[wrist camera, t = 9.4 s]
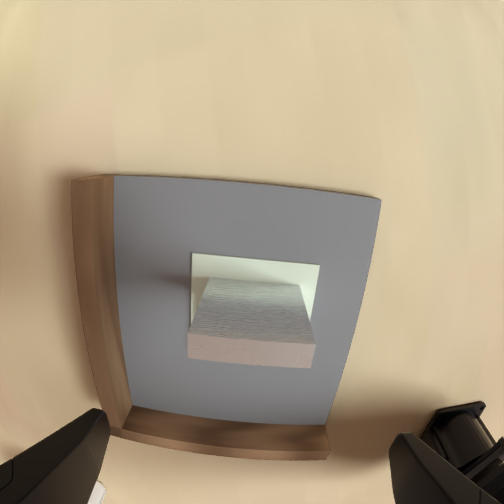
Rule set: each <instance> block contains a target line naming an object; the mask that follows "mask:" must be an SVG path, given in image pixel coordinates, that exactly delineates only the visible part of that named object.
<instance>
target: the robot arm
mask: <svg viewBox="0 0 504 504" xmlns="http://www.w3.org/2000/svg"><path fill="white" fill-rule="evenodd" d="M485 407H486V405H485V403H484V402H480V403H475V404H470V405H465V406H460V407H454V408H448V409H442V410H439V411H437V412H436V413H435V415H434V417H433V418H432V420H431V422H430V424H429V425H428V427H427V429H426V430H425V432H424V434H423V435H422V437H421V438H420V439H419V438H418V437H417V436H416V435H414V434H413V433H412V432H403V433H399V434H398V435H397V437H396V438H395V440H394V442H393V444H392V445H391V447H390V449H389V461H390V469H391V478H392V487H393V494H394V499H395V503H396V504H504V462H503V461H504V437H503V436H502V437H501V438H500V439H499V440H498V442H497V443H496V442H495V440H494V439H493V437H492V436H491V434H490V432H489V431H488V429H487V428H486V426H485V425H484V423H483V422H482V420H481V419H480V415H481V413H482V412H483V410H484V408H485ZM110 433H111V428H110V424H109V421H108V417H107V414H106V412H105V411H103V410H100V409H96V408H92V409H90V410H89V411H87V412H86V413H84V414H83V415H81V416H79V417H78V418H76V419H75V420H73V421H72V422H70V423H69V424H67V425H65V426H64V427H62V428H61V429H59V430H58V431H56V432H54V433H53V434H51V435H50V436H48V437H46V438H45V439H43V440H42V441H40V442H38V443H37V444H35V445H33V446H32V447H30V448H28V449H27V450H25V451H24V452H22V453H20V454H19V455H17V456H15V457H14V458H13V459H10V460H8V461H7V462H5V463H3V464H1V465H0V504H88V501H89V499H90V496H91V494H92V491H93V489H94V486H95V484H96V481H97V479H98V476H99V473H100V470H101V467H102V463H103V459H104V455H105V451H106V448H107V444H108V441H109V437H110Z"/></svg>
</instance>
